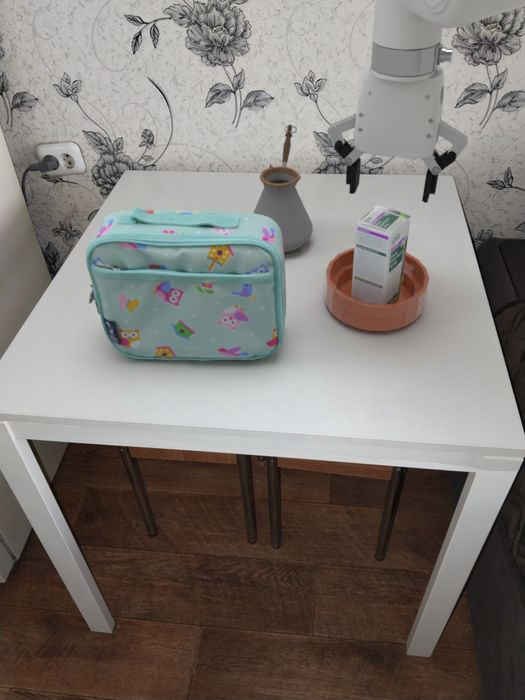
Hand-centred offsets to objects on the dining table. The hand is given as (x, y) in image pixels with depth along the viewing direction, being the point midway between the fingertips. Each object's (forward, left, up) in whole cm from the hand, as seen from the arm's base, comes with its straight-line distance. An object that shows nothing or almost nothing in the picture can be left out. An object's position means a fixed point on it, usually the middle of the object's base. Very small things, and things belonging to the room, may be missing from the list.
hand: (389, 193), depth 79 cm
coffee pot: (+20, -17, -20) cm, 33 cm away
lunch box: (+24, +16, -19) cm, 35 cm away
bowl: (0, 0, -19) cm, 19 cm away
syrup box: (0, 0, -19) cm, 19 cm away
